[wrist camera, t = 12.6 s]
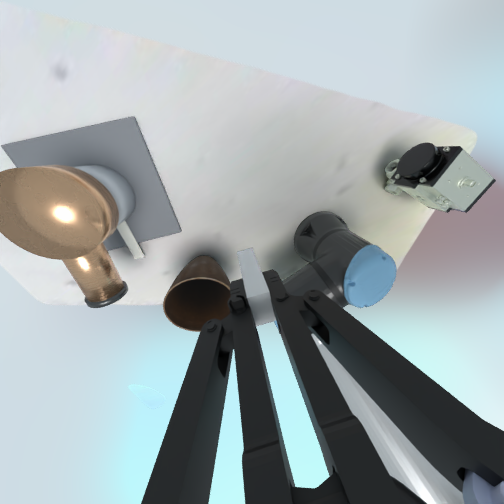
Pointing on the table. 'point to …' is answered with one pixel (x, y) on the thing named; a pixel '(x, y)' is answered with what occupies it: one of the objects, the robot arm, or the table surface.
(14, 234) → the copper flat bottle shape
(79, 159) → the duct stub
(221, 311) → the plant pot
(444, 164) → the ball valve
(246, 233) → the table surface
